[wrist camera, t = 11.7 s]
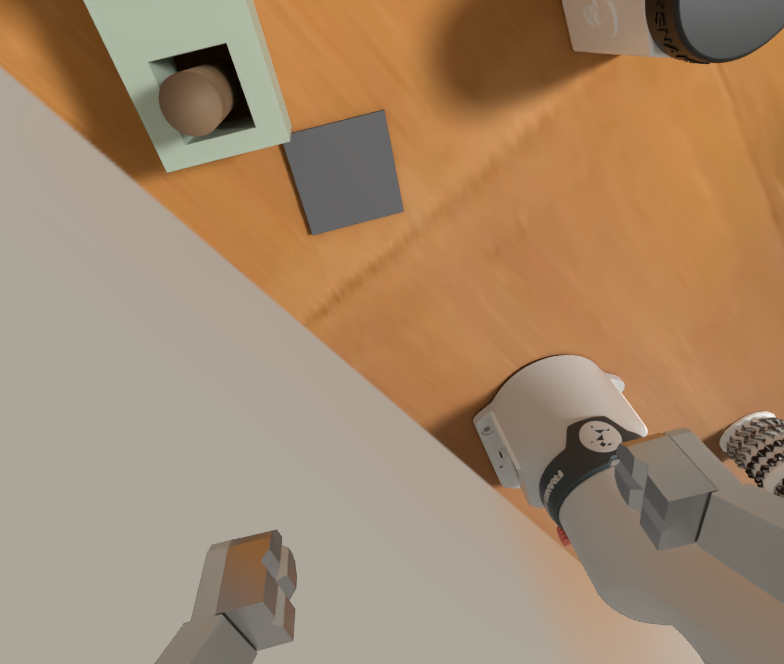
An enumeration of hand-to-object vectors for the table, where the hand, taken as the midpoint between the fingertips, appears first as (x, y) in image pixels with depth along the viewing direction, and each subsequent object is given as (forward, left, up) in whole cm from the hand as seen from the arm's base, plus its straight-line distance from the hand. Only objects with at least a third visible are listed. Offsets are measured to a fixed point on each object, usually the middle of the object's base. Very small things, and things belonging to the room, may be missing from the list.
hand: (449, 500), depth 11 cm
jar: (+8, -22, -31) cm, 39 cm away
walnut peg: (+8, +7, -31) cm, 32 cm away
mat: (0, 0, -31) cm, 31 cm away
